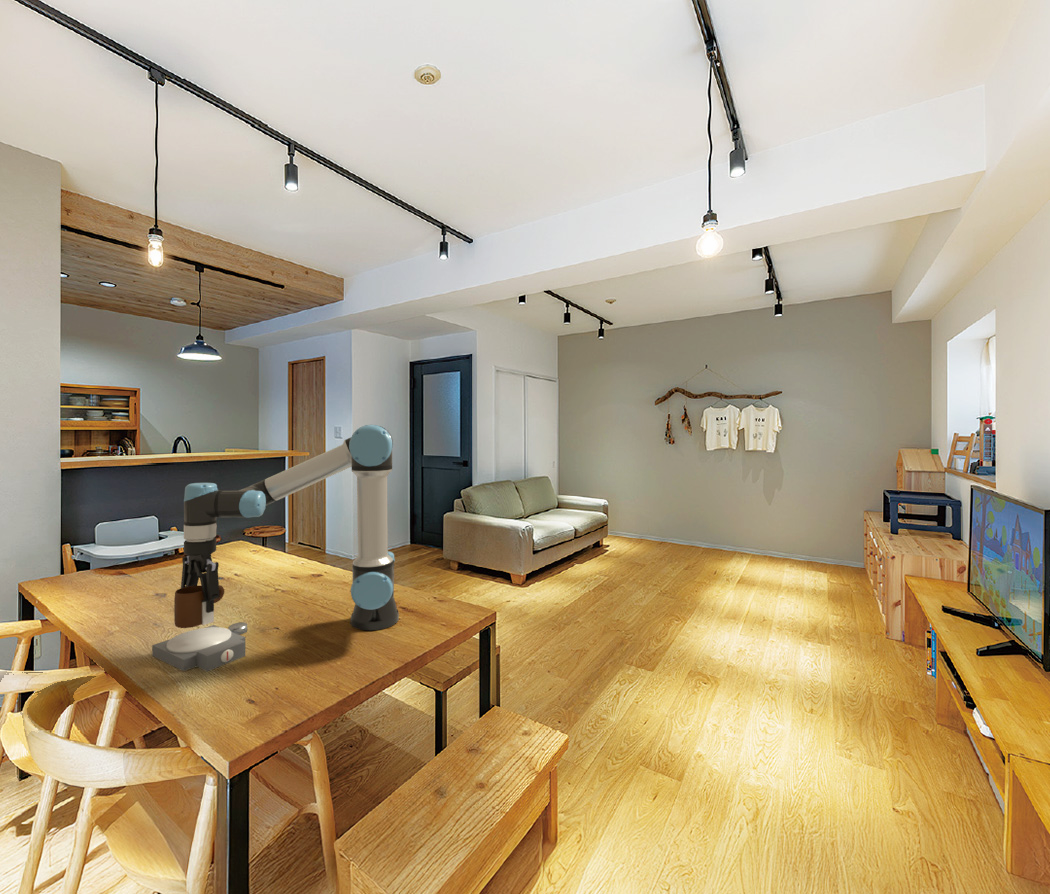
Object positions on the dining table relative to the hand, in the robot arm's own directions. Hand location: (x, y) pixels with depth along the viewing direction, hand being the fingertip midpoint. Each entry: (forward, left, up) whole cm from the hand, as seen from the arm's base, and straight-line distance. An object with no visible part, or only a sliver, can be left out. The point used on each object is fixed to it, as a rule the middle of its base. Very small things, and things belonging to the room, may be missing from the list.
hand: (199, 619), depth 134 cm
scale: (-3, 0, -9) cm, 9 cm away
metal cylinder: (+4, -13, -9) cm, 16 cm away
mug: (0, 0, 0) cm, 1 cm away
